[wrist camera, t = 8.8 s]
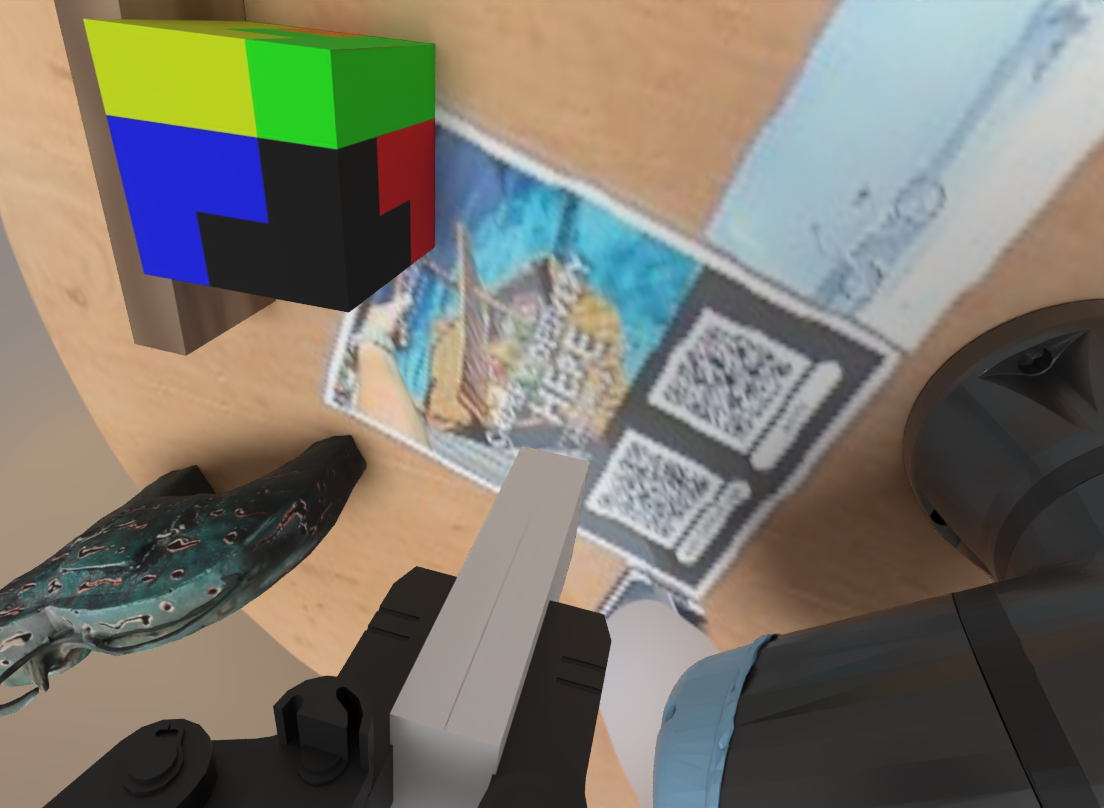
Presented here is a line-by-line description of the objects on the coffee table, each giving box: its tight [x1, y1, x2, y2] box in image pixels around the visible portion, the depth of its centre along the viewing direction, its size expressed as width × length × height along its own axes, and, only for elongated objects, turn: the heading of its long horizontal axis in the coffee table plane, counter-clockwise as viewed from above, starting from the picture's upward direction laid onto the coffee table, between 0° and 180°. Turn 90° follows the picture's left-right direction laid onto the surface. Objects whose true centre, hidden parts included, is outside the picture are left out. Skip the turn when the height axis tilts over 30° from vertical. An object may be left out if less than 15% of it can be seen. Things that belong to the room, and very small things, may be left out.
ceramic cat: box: [0, 436, 366, 716], centre depth 40 cm, size 20×6×20 cm, turn 109°
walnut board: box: [54, 0, 275, 356], centre depth 32 cm, size 3×20×8 cm, turn 173°
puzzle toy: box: [83, 19, 435, 312], centre depth 30 cm, size 10×10×10 cm
